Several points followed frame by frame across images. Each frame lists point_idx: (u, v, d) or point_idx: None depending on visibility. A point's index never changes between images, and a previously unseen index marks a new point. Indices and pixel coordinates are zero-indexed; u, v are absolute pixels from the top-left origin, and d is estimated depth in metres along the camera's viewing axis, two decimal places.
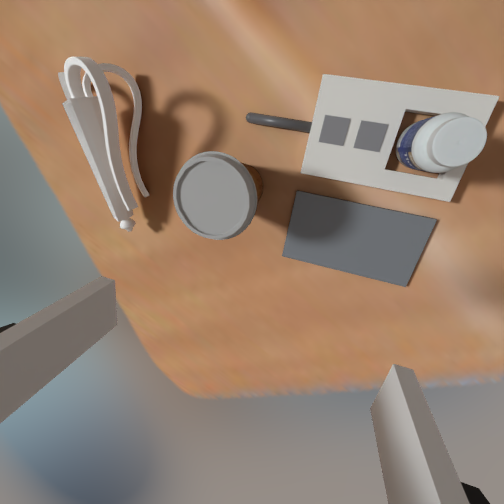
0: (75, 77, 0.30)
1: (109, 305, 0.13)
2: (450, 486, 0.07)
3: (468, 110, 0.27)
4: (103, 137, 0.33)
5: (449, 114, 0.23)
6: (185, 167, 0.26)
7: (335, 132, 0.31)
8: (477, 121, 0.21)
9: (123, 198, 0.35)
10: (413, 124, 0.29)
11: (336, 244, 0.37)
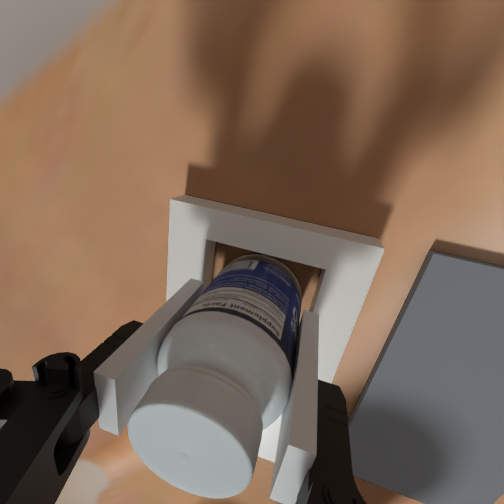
0: None
1: None
2: (308, 377, 0.09)
3: (194, 243, 0.14)
4: None
5: None
6: None
7: None
8: (132, 420, 0.07)
9: None
10: None
11: (466, 438, 0.16)
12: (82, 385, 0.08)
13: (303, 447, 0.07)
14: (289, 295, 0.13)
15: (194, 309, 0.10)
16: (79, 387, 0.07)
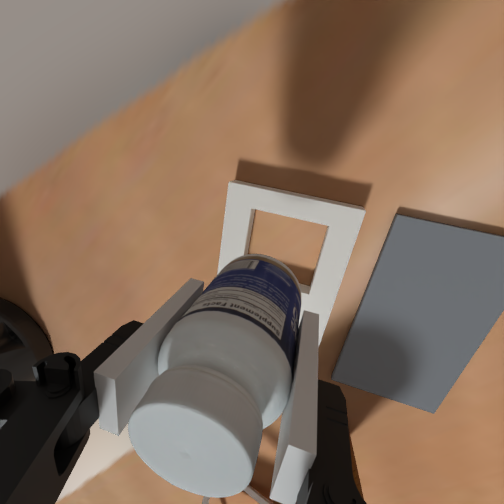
0: None
1: None
2: (308, 377, 0.09)
3: (243, 211, 0.22)
4: None
5: None
6: None
7: None
8: (133, 419, 0.07)
9: None
10: None
11: (424, 346, 0.23)
12: (82, 385, 0.08)
13: (303, 447, 0.07)
14: (289, 295, 0.13)
15: (194, 309, 0.10)
16: (79, 387, 0.07)
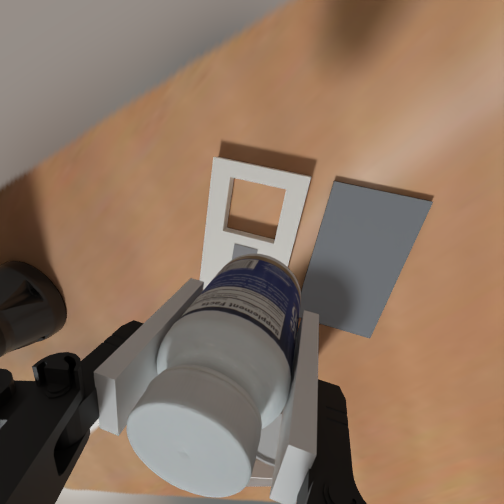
0: None
1: None
2: (308, 377, 0.09)
3: (224, 179, 0.29)
4: None
5: None
6: None
7: None
8: (131, 419, 0.07)
9: None
10: None
11: (359, 283, 0.31)
12: (82, 385, 0.08)
13: (303, 447, 0.07)
14: (288, 294, 0.13)
15: (193, 308, 0.10)
16: (79, 387, 0.07)
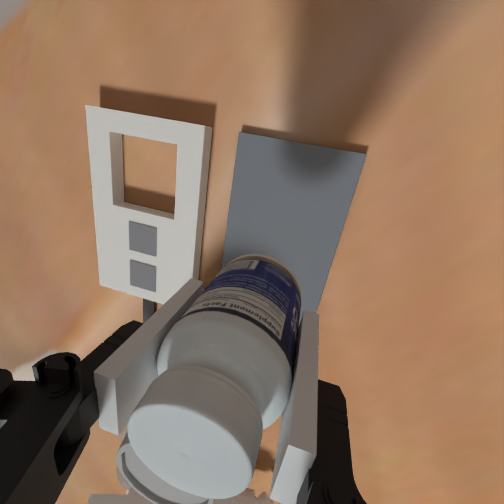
0: None
1: None
2: (308, 377, 0.09)
3: (103, 135, 0.23)
4: None
5: None
6: (133, 487, 0.22)
7: (145, 275, 0.27)
8: (132, 420, 0.07)
9: None
10: None
11: None
12: (82, 385, 0.08)
13: (303, 447, 0.07)
14: (289, 295, 0.13)
15: (194, 309, 0.10)
16: (79, 387, 0.07)
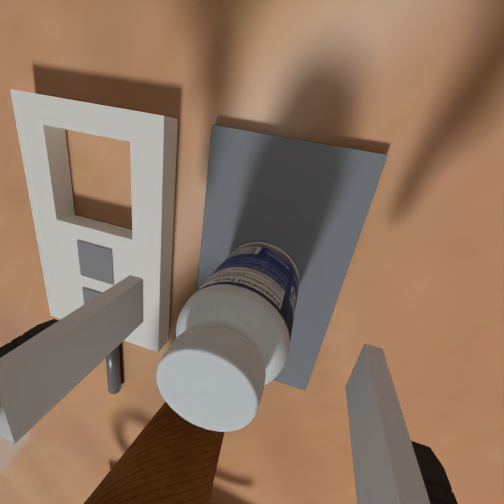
0: None
1: (138, 303, 0.13)
2: (400, 442, 0.07)
3: (36, 130, 0.17)
4: None
5: None
6: None
7: None
8: (161, 365, 0.09)
9: None
10: None
11: None
12: None
13: None
14: (288, 276, 0.14)
15: (207, 284, 0.12)
16: None
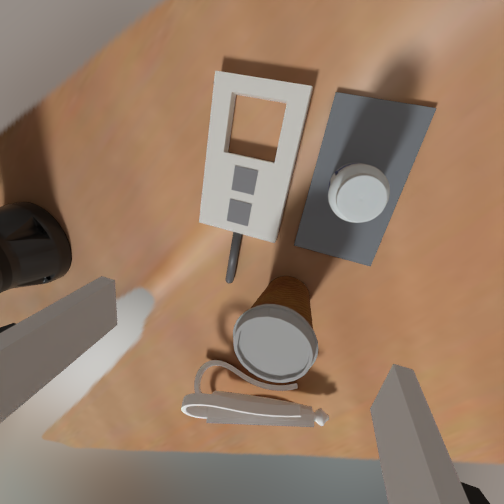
0: (196, 410, 0.40)
1: (109, 305, 0.13)
2: (450, 486, 0.07)
3: (225, 95, 0.30)
4: None
5: (330, 197, 0.24)
6: (242, 362, 0.29)
7: (240, 211, 0.34)
8: (343, 187, 0.22)
9: (288, 415, 0.37)
10: None
11: None
12: None
13: None
14: None
15: (346, 167, 0.24)
16: None
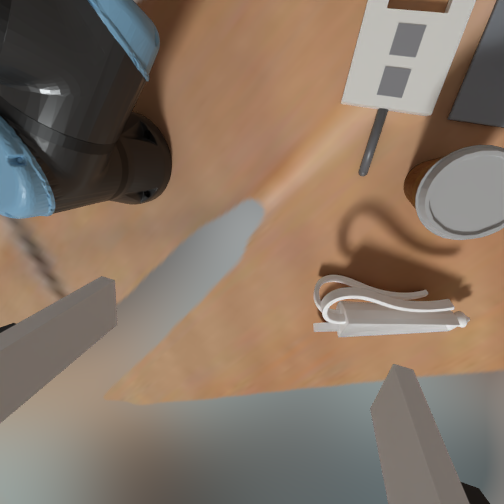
0: (331, 314, 0.38)
1: (109, 305, 0.13)
2: (450, 486, 0.07)
3: None
4: (376, 310, 0.37)
5: None
6: (431, 220, 0.27)
7: (395, 81, 0.32)
8: None
9: (439, 309, 0.35)
10: None
11: None
12: None
13: None
14: None
15: None
16: None
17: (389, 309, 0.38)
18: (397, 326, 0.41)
